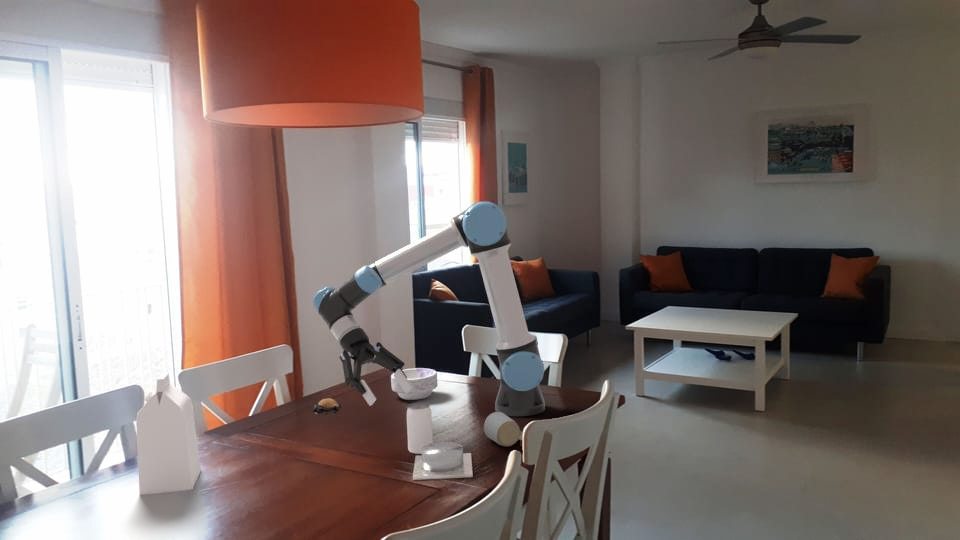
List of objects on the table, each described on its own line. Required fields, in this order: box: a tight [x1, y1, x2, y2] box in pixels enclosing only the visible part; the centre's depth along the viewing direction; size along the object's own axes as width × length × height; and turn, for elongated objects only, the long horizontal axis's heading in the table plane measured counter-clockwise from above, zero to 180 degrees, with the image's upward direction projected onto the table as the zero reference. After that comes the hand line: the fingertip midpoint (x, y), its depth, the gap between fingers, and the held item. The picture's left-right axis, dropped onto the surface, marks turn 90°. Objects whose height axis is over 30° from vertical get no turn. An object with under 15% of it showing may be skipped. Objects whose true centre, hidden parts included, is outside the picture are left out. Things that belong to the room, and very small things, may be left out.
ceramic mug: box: [483, 411, 523, 447], centre depth 197 cm, size 11×8×8 cm
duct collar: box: [412, 441, 473, 481], centre depth 181 cm, size 14×14×5 cm
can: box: [406, 402, 434, 455], centre depth 193 cm, size 6×6×12 cm
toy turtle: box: [313, 397, 341, 415], centre depth 234 cm, size 11×8×4 cm
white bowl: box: [390, 367, 438, 401], centre depth 245 cm, size 15×15×8 cm
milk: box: [135, 372, 202, 496], centre depth 176 cm, size 12×12×26 cm
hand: (391, 396), depth 198 cm, fingers open, 13 cm apart
